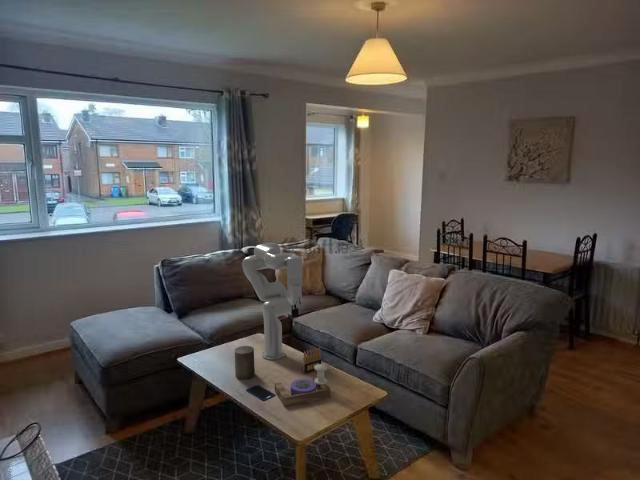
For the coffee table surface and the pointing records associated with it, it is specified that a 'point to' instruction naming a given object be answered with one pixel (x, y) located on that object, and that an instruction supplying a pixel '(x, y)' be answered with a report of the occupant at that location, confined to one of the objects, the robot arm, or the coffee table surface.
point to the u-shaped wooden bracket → (288, 400)
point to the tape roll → (302, 386)
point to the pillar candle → (244, 362)
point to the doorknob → (320, 374)
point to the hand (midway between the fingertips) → (295, 316)
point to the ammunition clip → (311, 360)
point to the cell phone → (260, 392)
